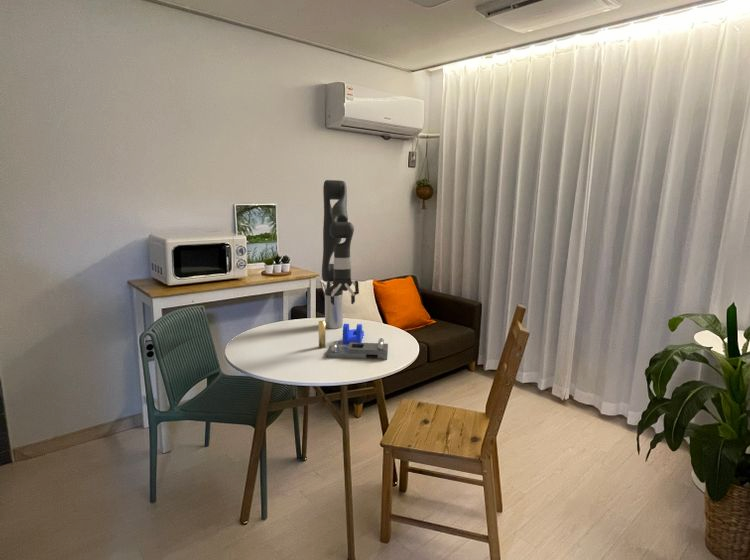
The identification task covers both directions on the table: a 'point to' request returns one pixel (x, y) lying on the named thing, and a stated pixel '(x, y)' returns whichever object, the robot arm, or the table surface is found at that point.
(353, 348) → the grey plate with pins
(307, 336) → the table surface
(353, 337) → the bracket
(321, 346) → the pin
